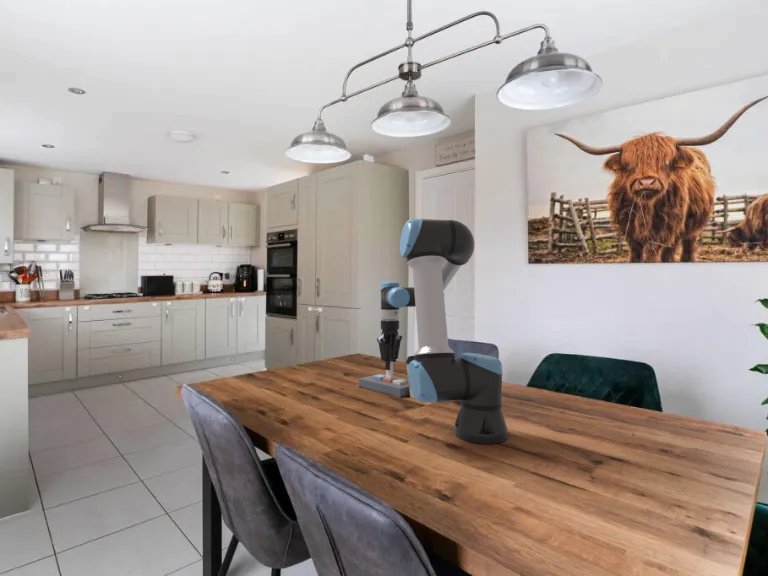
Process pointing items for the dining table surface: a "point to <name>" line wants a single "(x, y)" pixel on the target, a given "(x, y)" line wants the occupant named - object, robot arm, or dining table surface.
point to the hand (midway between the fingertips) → (389, 377)
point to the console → (385, 386)
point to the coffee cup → (408, 376)
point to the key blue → (379, 377)
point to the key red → (389, 379)
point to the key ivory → (399, 381)
